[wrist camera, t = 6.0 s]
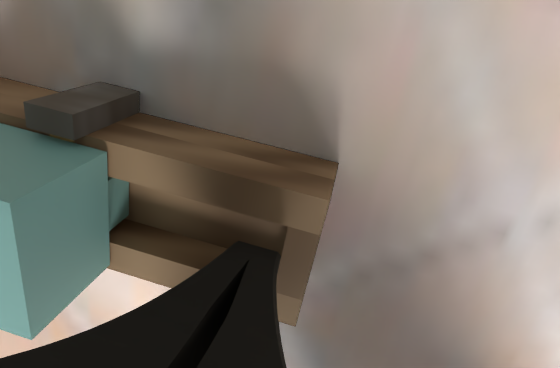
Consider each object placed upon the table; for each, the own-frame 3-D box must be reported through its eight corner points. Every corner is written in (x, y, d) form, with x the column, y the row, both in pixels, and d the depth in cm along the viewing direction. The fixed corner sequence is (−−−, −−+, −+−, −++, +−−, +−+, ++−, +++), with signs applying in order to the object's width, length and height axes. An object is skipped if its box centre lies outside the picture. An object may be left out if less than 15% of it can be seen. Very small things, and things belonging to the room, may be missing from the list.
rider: (134, 137, 13) (9, 203, 8) (133, 242, 15) (31, 339, 10) (20, 107, 13) (-153, 154, 9) (34, 212, 15) (-103, 294, 11)
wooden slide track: (344, 142, 13) (328, 211, 9) (304, 287, 16) (277, 396, 11) (-75, 38, 15) (-268, 50, 11) (-43, 184, 18) (-182, 242, 13)
